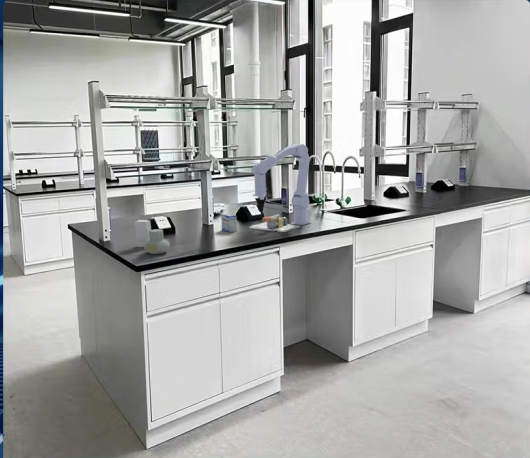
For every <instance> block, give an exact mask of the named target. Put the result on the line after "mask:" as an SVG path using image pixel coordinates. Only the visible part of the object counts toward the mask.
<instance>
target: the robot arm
mask: <svg viewBox="0 0 530 458" xmlns="http://www.w3.org/2000/svg"><path fill="white" fill-rule="evenodd" d="M308 152H309V148H308V147H307V146H306V145H305V144H303V143H302V144H301V143H300V144H299V143H298V144H296V143H291V144H290V145H287V146H286V147H285V148H284V149H282V150H281V151H280V152H278V153H276V154H275V155H266V158H264V159H262V160H260V161H259V162H257V163H254V165H253V166H252V169H251V170H252V172H253V176H254V193H252V196H253V197H254V199H255V202H256V204H257V209H258V210H257V211H258V212H260V213H261V212H264V207H265V204H266V201H267V198H266V197H267V191H266V190H267V189H266V185H267V183H266V174H267V172H268V171H269V170H270V169H272V168H273V167H275V166H276V165H277V164H278V162H279V161H281V160H282V159H284V158H286V157H288V156H292V157H294V158H295V159H296V160H297V161H298V171H297V173H298V174H297V181H296V189H295V191H294V192H293V196H292V198H291V204H292V205H293V222H291V223H290V225H300V226H304V225H307V224H311V223H312V221H311V212H310V208H309V205H310V198H309V197H310V195H309V193H308V192H307V187H308V178H309V170H310V169H309V168H310V167H309V166H310V160H311V159H310V156H309V153H308Z"/></svg>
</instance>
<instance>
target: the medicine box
mask: <svg viewBox="0 0 530 458" xmlns="http://www.w3.org/2000/svg"><path fill="white" fill-rule="evenodd" d="M220 215H221V216H220V217H221V230H222V232H223V231H224V232H228V233H236V232H238V231H237V230H238V226H237V225H238V223H237V215H235V214H230V213H221V214H220Z"/></svg>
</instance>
